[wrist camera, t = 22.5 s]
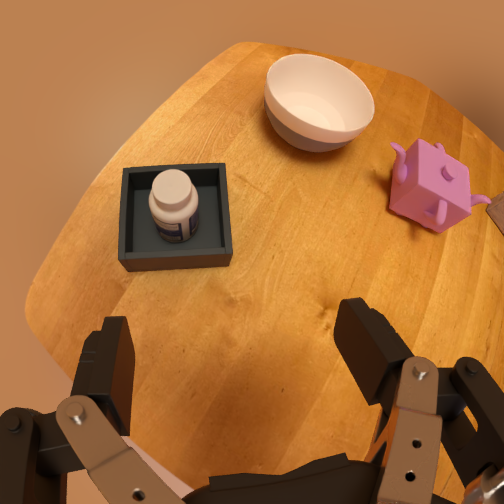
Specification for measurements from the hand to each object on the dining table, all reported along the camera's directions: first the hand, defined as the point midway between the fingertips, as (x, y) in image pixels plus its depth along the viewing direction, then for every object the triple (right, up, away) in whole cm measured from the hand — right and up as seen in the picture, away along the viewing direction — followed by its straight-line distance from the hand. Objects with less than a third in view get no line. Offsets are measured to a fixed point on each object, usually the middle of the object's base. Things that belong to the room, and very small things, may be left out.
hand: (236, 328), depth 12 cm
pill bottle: (-9, +6, +29) cm, 31 cm away
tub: (-9, +6, +29) cm, 31 cm away
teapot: (+27, +11, +37) cm, 47 cm away
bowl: (+9, +22, +38) cm, 45 cm away
